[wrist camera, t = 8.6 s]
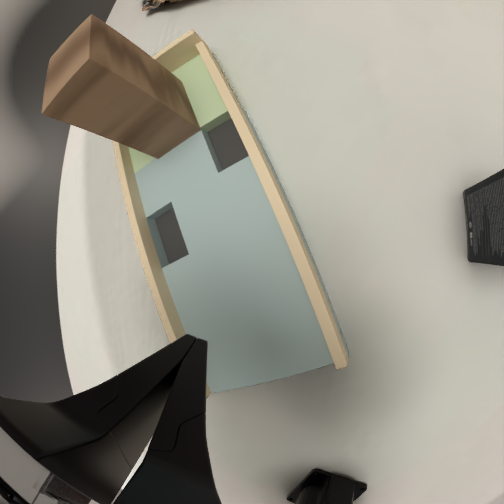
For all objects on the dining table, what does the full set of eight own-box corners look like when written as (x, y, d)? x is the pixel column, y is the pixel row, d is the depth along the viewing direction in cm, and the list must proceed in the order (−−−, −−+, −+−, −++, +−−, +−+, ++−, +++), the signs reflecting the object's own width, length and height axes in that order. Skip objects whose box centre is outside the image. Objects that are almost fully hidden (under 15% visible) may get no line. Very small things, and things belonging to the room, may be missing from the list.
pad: (237, 115, 23) (230, 108, 22) (144, 176, 27) (134, 173, 25) (209, 59, 24) (202, 52, 23) (130, 116, 28) (121, 112, 26)
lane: (348, 351, 20) (346, 375, 16) (212, 387, 24) (187, 408, 20) (213, 51, 24) (192, 29, 20) (124, 115, 28) (98, 103, 24)
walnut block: (201, 130, 23) (89, 58, 10) (158, 159, 24) (41, 114, 12) (181, 81, 24) (91, 14, 11) (144, 109, 25) (49, 58, 13)
